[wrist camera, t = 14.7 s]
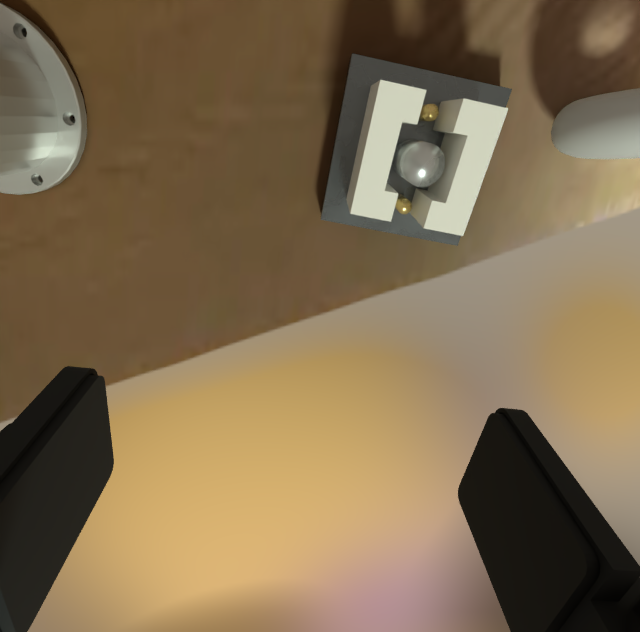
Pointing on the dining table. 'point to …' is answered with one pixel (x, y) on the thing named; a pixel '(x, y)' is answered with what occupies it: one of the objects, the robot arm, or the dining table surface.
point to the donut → (600, 126)
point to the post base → (398, 142)
